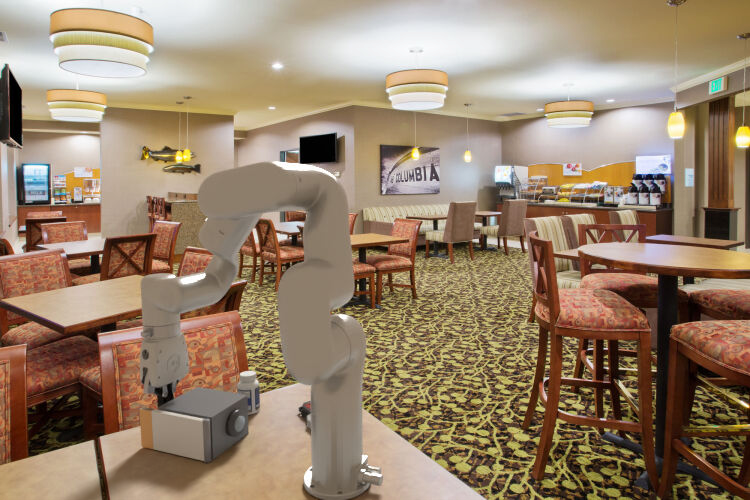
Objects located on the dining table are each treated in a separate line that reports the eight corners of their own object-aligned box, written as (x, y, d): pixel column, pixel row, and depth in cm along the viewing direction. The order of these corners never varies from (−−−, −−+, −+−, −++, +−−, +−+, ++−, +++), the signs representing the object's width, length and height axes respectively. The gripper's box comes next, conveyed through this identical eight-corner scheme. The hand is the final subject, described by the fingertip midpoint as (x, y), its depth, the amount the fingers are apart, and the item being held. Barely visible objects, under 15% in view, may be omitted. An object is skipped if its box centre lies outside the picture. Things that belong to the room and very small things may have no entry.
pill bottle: (253, 404, 126) (252, 368, 125) (264, 411, 122) (262, 373, 121) (234, 410, 122) (232, 373, 121) (244, 417, 119) (243, 379, 118)
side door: (213, 459, 99) (211, 419, 98) (208, 463, 98) (206, 422, 97) (146, 444, 105) (144, 406, 104) (141, 447, 104) (138, 408, 103)
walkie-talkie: (290, 416, 120) (332, 449, 104) (290, 398, 120) (331, 429, 104) (321, 407, 125) (366, 438, 109) (321, 390, 125) (366, 419, 109)
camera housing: (254, 434, 110) (253, 396, 109) (219, 461, 99) (218, 418, 98) (198, 423, 116) (197, 386, 115) (159, 447, 104) (157, 407, 103)
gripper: (147, 341, 98) (152, 429, 100) (199, 323, 112) (203, 401, 114) (120, 337, 101) (125, 423, 103) (174, 321, 115) (177, 396, 116)
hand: (166, 411), depth 108 cm, fingers closed
